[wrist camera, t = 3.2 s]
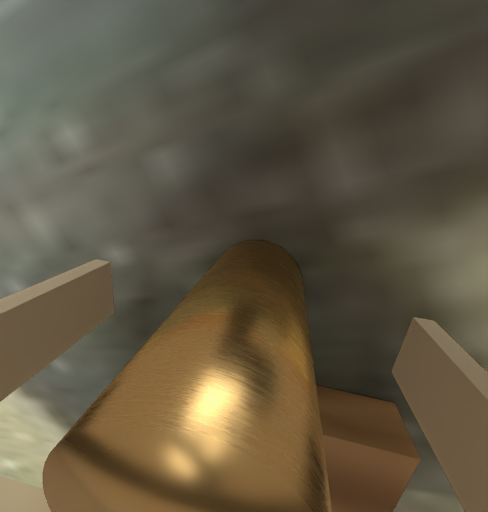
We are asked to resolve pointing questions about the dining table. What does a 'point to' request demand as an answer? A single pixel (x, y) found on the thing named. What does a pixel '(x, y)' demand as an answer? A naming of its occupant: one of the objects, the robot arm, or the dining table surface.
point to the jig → (364, 451)
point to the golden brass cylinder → (207, 406)
